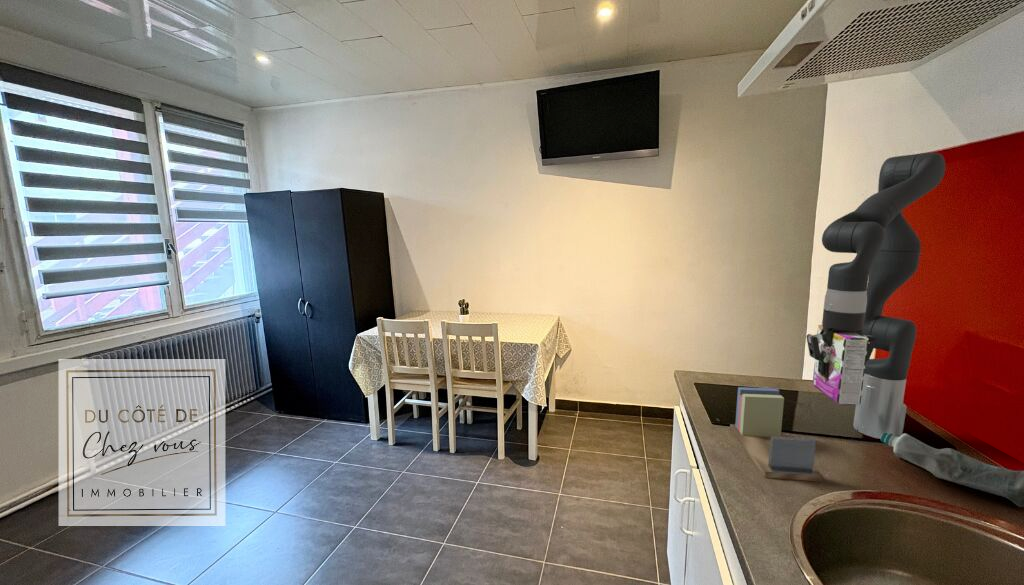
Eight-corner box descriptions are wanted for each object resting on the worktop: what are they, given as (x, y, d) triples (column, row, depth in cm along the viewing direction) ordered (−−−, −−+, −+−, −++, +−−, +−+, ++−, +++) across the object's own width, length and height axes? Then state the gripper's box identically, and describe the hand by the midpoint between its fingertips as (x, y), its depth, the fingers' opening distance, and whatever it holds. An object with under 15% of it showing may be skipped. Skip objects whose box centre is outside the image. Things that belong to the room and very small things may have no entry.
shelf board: (774, 431, 111) (775, 426, 111) (821, 481, 90) (822, 475, 89) (729, 428, 113) (730, 424, 113) (765, 477, 92) (765, 471, 92)
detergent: (1047, 499, 82) (894, 439, 104) (1055, 470, 80) (897, 416, 103) (1024, 525, 77) (868, 456, 99) (1031, 495, 75) (871, 432, 97)
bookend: (809, 469, 92) (813, 438, 90) (815, 475, 90) (818, 443, 88) (768, 466, 93) (770, 436, 92) (772, 472, 91) (775, 441, 90)
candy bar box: (810, 385, 100) (816, 324, 97) (832, 386, 99) (839, 324, 96) (836, 405, 90) (844, 337, 87) (861, 406, 89) (870, 337, 86)
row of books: (773, 428, 110) (776, 388, 108) (782, 437, 105) (786, 396, 103) (735, 426, 112) (738, 387, 110) (742, 435, 107) (745, 394, 105)
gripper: (867, 304, 93) (859, 371, 96) (801, 304, 95) (795, 369, 98) (892, 311, 86) (882, 383, 89) (819, 311, 88) (812, 381, 91)
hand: (836, 375), depth 94 cm, fingers closed on candy bar box, 5 cm apart
